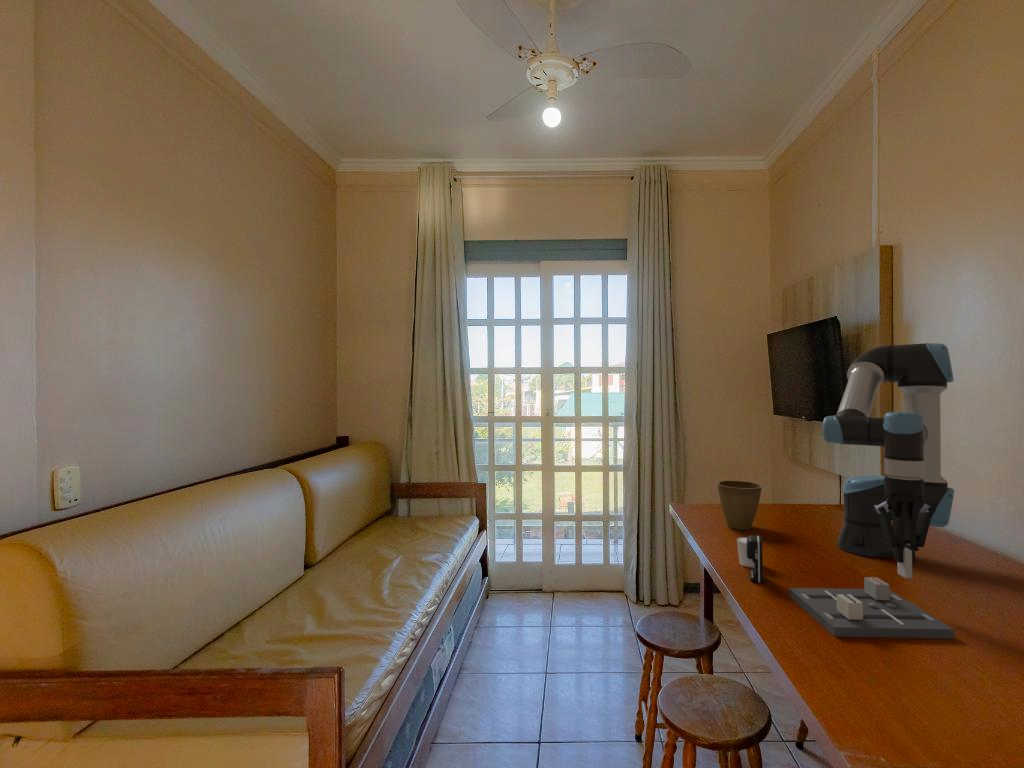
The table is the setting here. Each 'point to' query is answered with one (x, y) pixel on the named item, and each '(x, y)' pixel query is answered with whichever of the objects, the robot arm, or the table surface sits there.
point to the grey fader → (876, 588)
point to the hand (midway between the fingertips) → (904, 575)
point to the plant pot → (739, 502)
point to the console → (870, 615)
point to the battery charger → (755, 557)
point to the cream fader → (849, 606)
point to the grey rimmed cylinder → (743, 552)
